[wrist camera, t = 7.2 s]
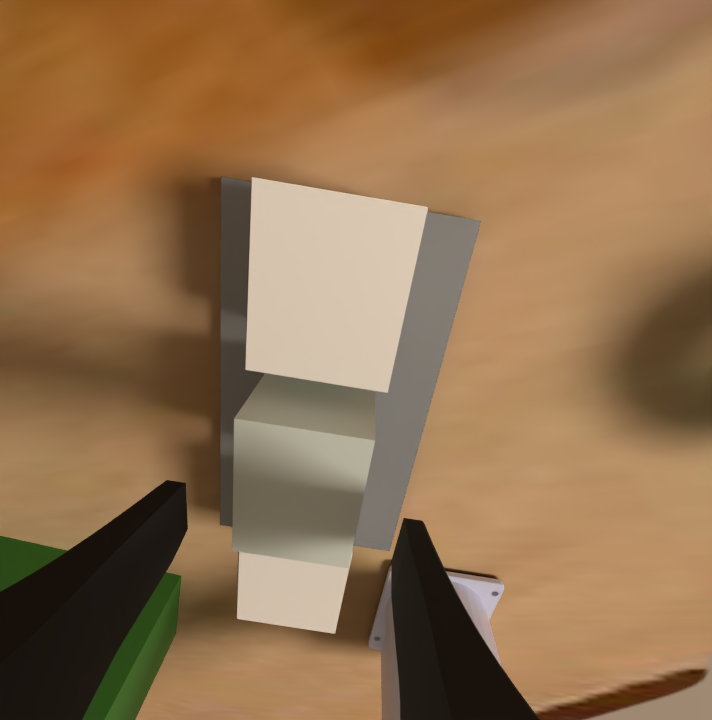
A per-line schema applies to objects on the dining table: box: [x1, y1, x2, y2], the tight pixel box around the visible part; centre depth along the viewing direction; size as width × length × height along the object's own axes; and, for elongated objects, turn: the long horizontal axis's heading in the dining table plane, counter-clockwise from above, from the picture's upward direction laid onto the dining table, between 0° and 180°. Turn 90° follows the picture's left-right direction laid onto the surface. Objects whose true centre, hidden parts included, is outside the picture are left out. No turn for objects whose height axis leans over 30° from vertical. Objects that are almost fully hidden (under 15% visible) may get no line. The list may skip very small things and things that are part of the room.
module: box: [232, 373, 375, 568], centre depth 15 cm, size 6×5×6 cm
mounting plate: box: [220, 177, 481, 634], centre depth 17 cm, size 20×11×6 cm, turn 171°
